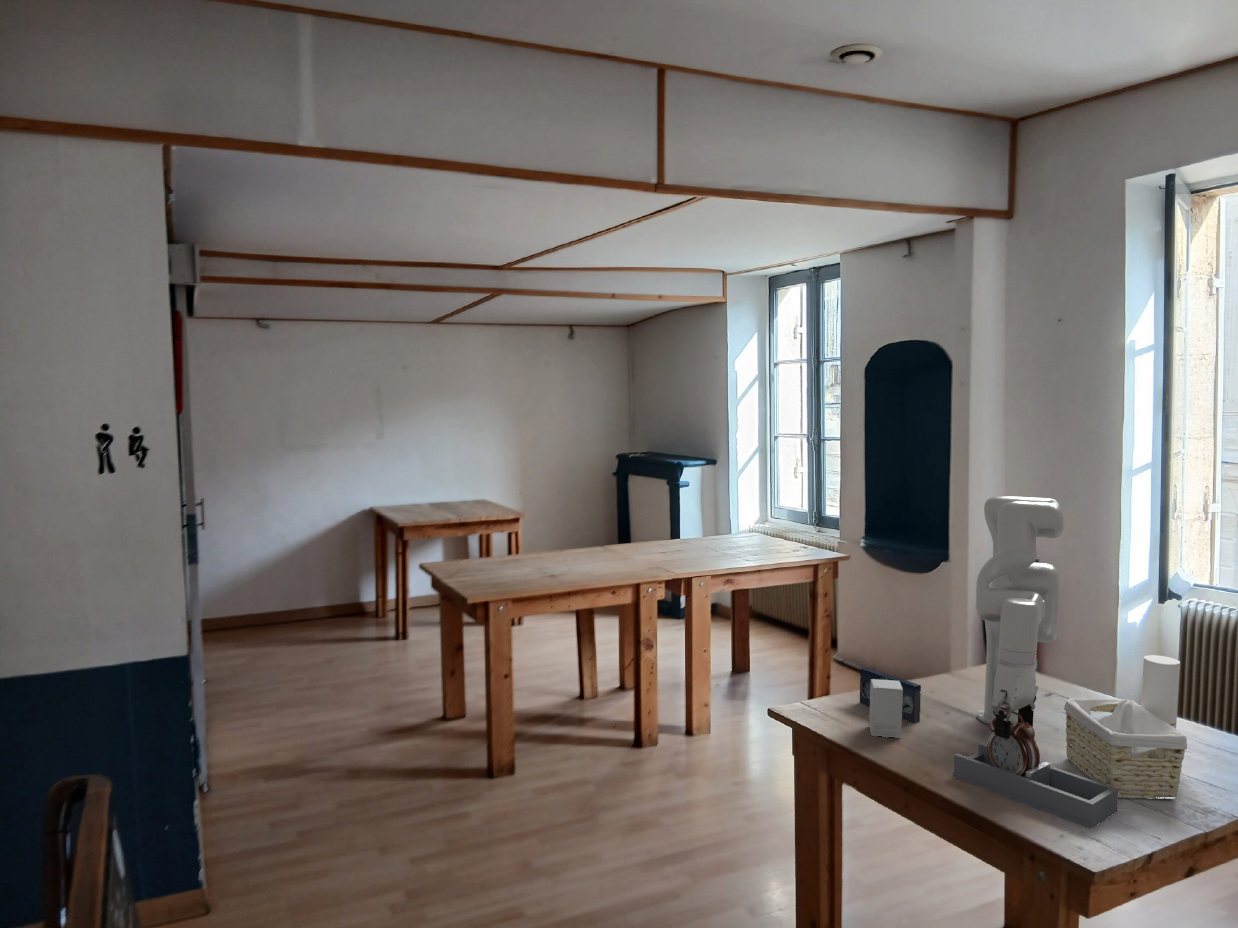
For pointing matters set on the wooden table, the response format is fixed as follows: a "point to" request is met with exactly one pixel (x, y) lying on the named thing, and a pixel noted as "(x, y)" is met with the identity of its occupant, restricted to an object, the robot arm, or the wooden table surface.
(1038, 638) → the robot arm
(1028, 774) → the pusher plate
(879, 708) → the supplement box
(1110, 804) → the tray
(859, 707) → the wooden table surface
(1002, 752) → the alarm clock
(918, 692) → the vhs cassette tape
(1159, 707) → the cylindrical container
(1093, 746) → the storage basket
